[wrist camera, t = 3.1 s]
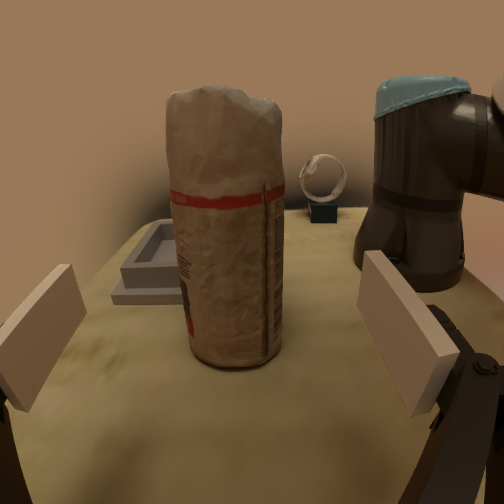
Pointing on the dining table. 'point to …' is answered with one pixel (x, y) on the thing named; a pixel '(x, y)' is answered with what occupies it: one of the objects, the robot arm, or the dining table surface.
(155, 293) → the holder dock
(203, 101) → the beige textured cylinder
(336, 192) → the watch
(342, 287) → the dining table surface
